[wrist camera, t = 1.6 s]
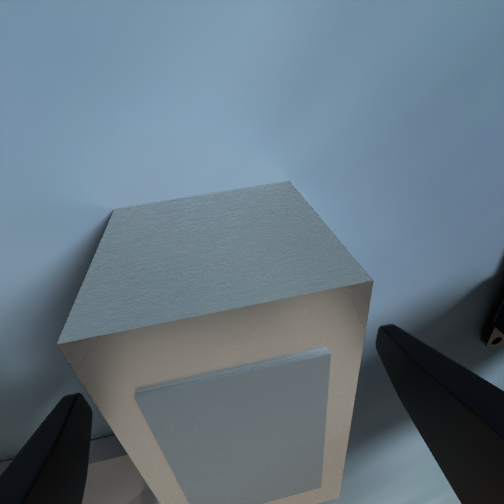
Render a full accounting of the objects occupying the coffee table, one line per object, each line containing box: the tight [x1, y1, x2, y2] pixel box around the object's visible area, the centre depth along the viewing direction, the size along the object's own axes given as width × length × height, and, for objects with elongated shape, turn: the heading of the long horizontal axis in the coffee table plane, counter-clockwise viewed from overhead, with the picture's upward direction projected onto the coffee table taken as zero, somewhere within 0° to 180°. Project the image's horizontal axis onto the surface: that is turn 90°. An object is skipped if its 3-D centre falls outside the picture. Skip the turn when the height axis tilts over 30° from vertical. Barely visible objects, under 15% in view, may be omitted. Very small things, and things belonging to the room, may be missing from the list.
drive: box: [57, 181, 373, 504], centre depth 9 cm, size 5×9×5 cm, turn 5°
